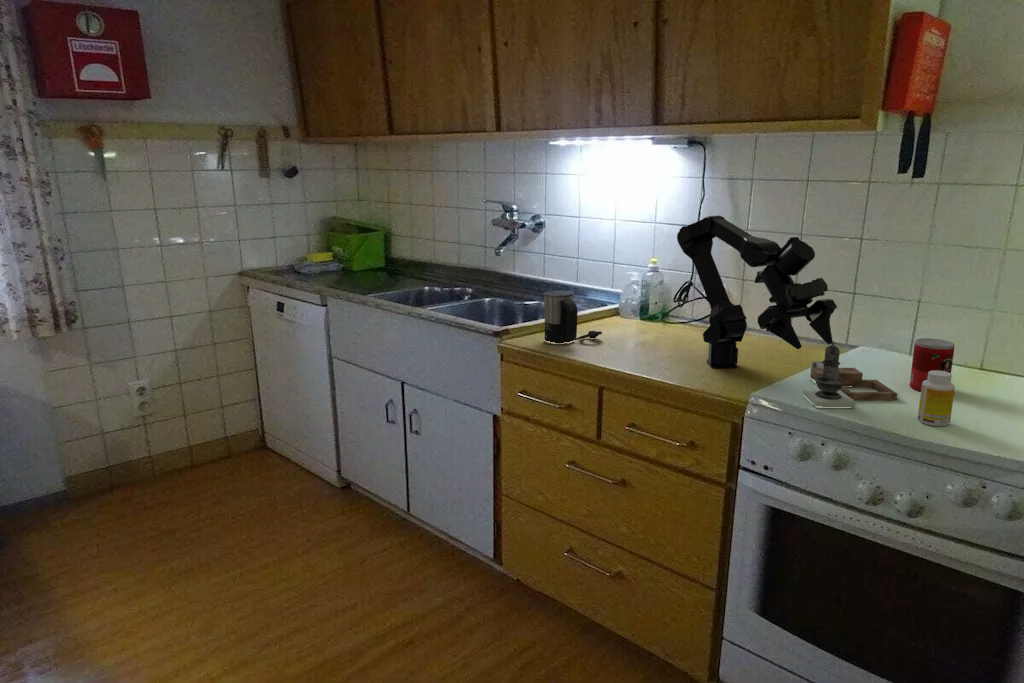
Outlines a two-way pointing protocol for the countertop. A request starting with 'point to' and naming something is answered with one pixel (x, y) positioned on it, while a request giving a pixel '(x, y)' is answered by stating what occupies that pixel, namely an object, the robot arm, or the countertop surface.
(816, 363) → the key bar
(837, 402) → the grey square slab
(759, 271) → the robot arm
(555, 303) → the milk frother
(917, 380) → the canned food
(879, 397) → the brown wooden tray
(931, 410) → the supplement bottle
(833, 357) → the dark grey tall figure
